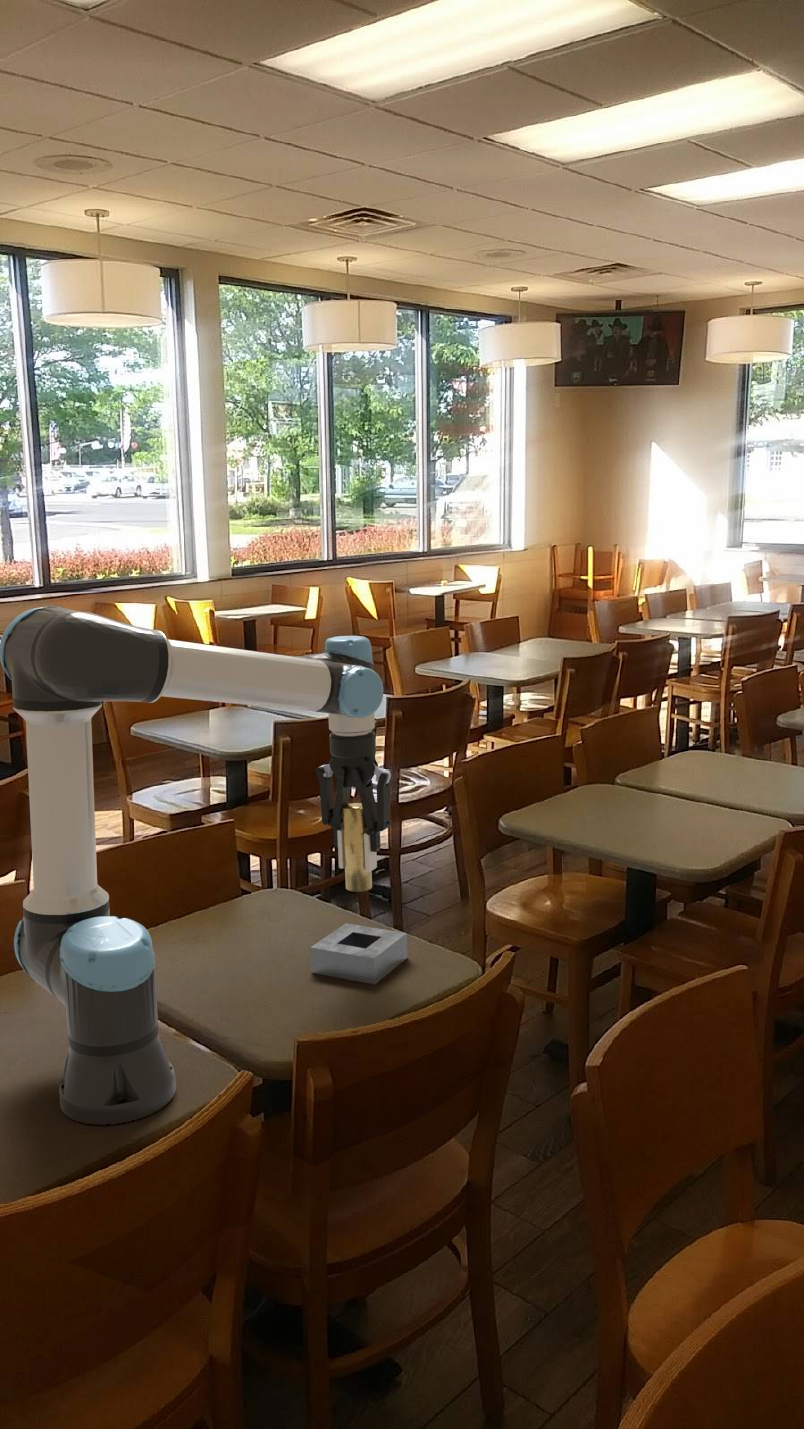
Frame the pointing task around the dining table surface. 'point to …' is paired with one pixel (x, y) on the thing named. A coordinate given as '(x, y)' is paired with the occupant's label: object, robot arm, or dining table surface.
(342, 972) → the block
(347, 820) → the brass cylinder rod
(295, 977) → the dining table surface
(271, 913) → the dining table surface
